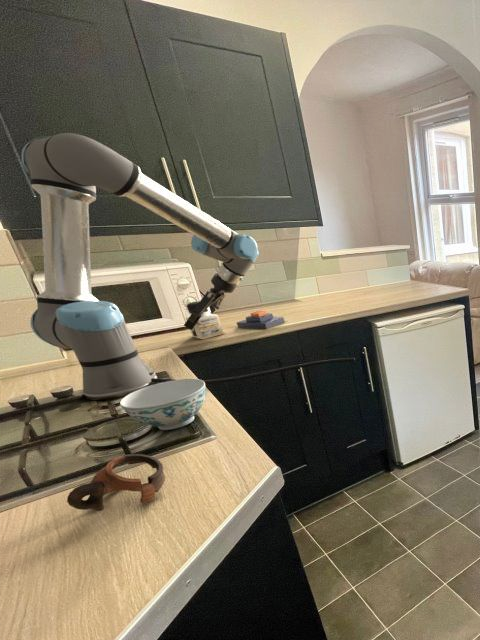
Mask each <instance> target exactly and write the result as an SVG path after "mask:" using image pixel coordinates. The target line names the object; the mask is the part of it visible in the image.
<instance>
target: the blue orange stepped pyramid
mask: <svg viewBox="0 0 480 640" xmlns="http://www.w3.org/2000/svg"><path fill="white" fill-rule="evenodd" d="M266 314H267V315H264V316H261V317H251V315H249V316H246V317H245V319H243V320H239V321H237V322H236V325H237V328H238V329H260V330H261V329H263V330H268V329H270V328H272V327H275V326H278V325H281V324H284V323H285V318H284V316H274V315H273V313H271V312H270V313H267V312H266Z"/></svg>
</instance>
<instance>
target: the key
mask: <svg viewBox="0 0 480 640" xmlns="http://www.w3.org/2000/svg"><path fill="white" fill-rule="evenodd" d="M266 313H267V311H266V310H256V311H253V312H251V313H250V316H251V317H261V316H264V315H267V314H266Z"/></svg>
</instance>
